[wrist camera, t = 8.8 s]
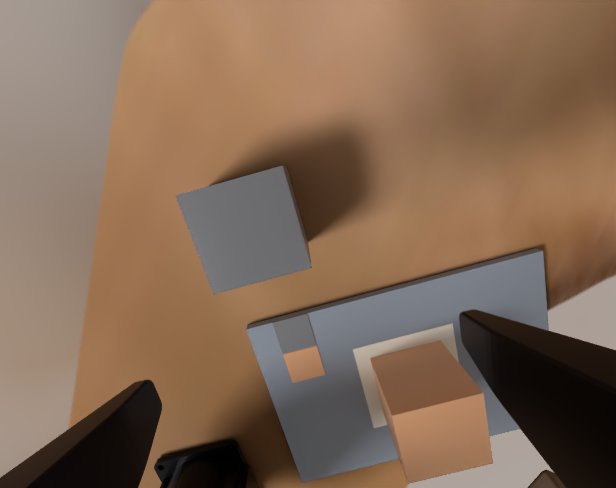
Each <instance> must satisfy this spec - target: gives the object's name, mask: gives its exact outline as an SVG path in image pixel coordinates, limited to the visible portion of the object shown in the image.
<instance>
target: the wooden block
mask: <svg viewBox="0 0 616 488" xmlns="http://www.w3.org/2000/svg"><path fill="white" fill-rule="evenodd" d="M528 488H566V487H565V486H564V485H563V483H562V482H561V481H560V479H559V478H558V477H557V475H556V474H555V473H553V472H551V471H548V470H544V471H542V472H541V473H540V474H539V476H538V477H537V478H536V479H535V480H534V481H533V482H532V483H531V484H530V486H529V487H528Z"/></svg>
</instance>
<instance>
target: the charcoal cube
mask: <svg viewBox="0 0 616 488" xmlns="http://www.w3.org/2000/svg"><path fill="white" fill-rule="evenodd" d="M176 198H177V201H178V203H179V206H180V209H181V211H182V214H183V216H184V219H185V221H186V224H187V227H188V229H189V232H190V234H191V237H192V240H193V242H194V245H195V247H196V250H197V252H198V255H199V258H200V260H201V263H202V265H203V268H204V271H205V273H206V276H207V278H208V281H209V283H210V286H211V289H212V291H213V294H217V293H221V292H224V291H228V290H232V289H235V288H239V287H243V286H246V285H250V284H254V283H257V282H261V281H265V280H269V279H272V278H276V277H280V276H283V275H287V274H291V273H294V272H298V271H302V270H305V269H309V268H312V266H311V260H310V253H309V246H308V241H307V238H306V234H305V230H304V227H303V223H302V220H301V216H300V213H299V209H298V206H297V202H296V199H295V195H294V192H293V188H292V184H291V181H290V177H289V174H288V170H287V167H286V165H282V166H279V167H275V168H272V169H268V170H265V171H261V172H258V173H254V174H250V175H247V176H243V177H240V178H236V179H233V180H229V181H226V182H222V183H219V184H215V185H212V186H208V187H205V188H201V189H197V190H194V191H190V192H187V193H183V194H180V195H176Z"/></svg>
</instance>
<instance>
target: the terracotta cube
mask: <svg viewBox="0 0 616 488" xmlns="http://www.w3.org/2000/svg"><path fill="white" fill-rule="evenodd" d="M370 361H371V365H372V369H373V373H374V377H375V381H376V385H377V389H378V393H379V397H380V401H381V405H382V409H383V413H384V417H385V420H386V422H387V425H388V428H389V431H390V434H391V437H392V439H393V442H394V445H395V448H396V451H397V454H398V457H399V459H400V462H401V465H402V468H403V471H404V474H405V477H406V479H407V482H408V484H409V483H413V482H417V481H422V480H426V479H430V478H434V477H438V476H442V475H446V474H450V473H455V472H459V471H463V470H467V469H471V468H475V467H480V466H484V465H487V464H492V463H493V460H492V452H491V445H490V437H489V430H488V423H487V415H486V408H485V401H484V393H483V392H482V391H481V389H480V388H479V387H478V386H477V385H476V383H475V382H474V381H473V380H472V378H471V377H470V376H469V375H468V374H467V372H466V371H465V370H464V369H463V367H462V366H461V365H460V364H459V362H458V361H457V360H456V359H455V358H454V356H453V355H452V354H451V353H450V351H449V350H448V349H447V348H446V347H445V345H444V344H443V343H442V342H441V340H439V341H435V342H431V343H427V344H424V345H420V346H416V347H412V348H408V349H404V350H400V351H396V352H392V353H388V354H384V355H380V356H377V357H373V358H370Z"/></svg>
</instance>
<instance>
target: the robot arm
mask: <svg viewBox="0 0 616 488" xmlns="http://www.w3.org/2000/svg"><path fill="white" fill-rule="evenodd" d="M459 323H460V333H461V340H462V343H463V345H464V347H465V349H466V350H467V352H468V354H469V355H470V357H471V358H472V360H473V362H474V363H475V365H476V366H477V368H478V370H479V371H480V373H481V374H482V376H483V378H484V379H485V381H486V383H487V384H488V386H489V387H490V389H491V390H492V392H493V393H494V395H495V396H496V398H497V399H498V400H499V402H500V403H501V404H502V406H503V407H504V408H505V409H506V411H507V412H508V413H509V415H510V416H511V417H512V419H513V420H514V421H515V422H516V424H517V425H518V426H519V428H520V429H521V430H522V431H523V433H524V434H525V435H526V437H527V438H528V439H529V441H530V442H531V443H532V444H533V445H534V447H535V448H536V450H537V451H538V452H539V453H540V455H541V456H542V457H543V459H544V460H545V461H546V462H547V464H548V465H549V466H550V468H551V469H552V470H553V471H554V473H555V474H556V475H557V477H558V478H559V479H560V481H561V482H562V483H563V485H564V486H565V487H566V488H616V350H613V349H609V348H606V347H603V346H599V345H595V344H592V343H589V342H585V341H582V340H579V339H575V338H572V337H568V336H565V335H561V334H558V333H555V332H551V331H548V330H544V329H541V328H537V327H534V326H531V325H527V324H524V323H520V322H517V321H514V320H510V319H507V318H503V317H500V316H496V315H493V314H490V313H486V312H483V311H479V310H476V309H472V310H468V311H463V312H461V313H460V314H459ZM161 410H162V403H161V400H160V398H159V395H158V393H157V391H156V388H155V386H154V384H153V382H152V381H151V380H143V381H138V382H135V383H133V384H132V385H130V386H129V387H128V388H126V389H125V390H123V391H122V392H121V393H119V394H118V395H116V396H115V397H113V398H112V399H111V400H109V401H108V402H106V403H105V404H104V405H102V406H101V407H99V408H98V409H97V410H95V411H94V412H92V413H91V414H90V415H88V416H87V417H85V418H84V419H82V420H81V421H80V422H78V423H77V424H75V425H74V426H73V427H71V428H70V429H68V430H67V431H66V432H64V433H63V434H61V435H60V436H58V437H57V438H56V439H54V440H53V441H51V442H50V443H49V444H47V445H46V446H45V447H43V448H42V449H40V450H39V451H37V452H36V453H35V454H33V455H32V456H30V457H29V458H28V459H26V460H25V461H24V462H22V463H20V464H19V465H18V466H16V467H15V468H13V469H12V470H11V471H9V472H8V473H6V474H5V475H4V476H2V477H1V478H0V488H138V486H139V484H140V481H141V478H142V476H143V473H144V470H145V467H146V464H147V460H148V457H149V454H150V450H151V447H152V443H153V439H154V436H155V432H156V429H157V425H158V422H159V418H160V414H161ZM230 447H232V448H230ZM154 469H155V471H156V473H157V475H158V477H159V478H160V480H161V482H162V484H161V486H160V488H259V487H258V485H257V482H256V480H255V477H254V475H253V473H252V470H251V468H250V466H249V465H248V464H247V463H246V461H245V459H244V456H243V454H242V452H241V449H240V447H239V445H238V443H237V442H236V441H234V440H229V441H225V442H221V443H217V444H213V445H209V446H205V447H201V448H197V449H193V450H189V451H185V452H181V453H178V454H174V455H170V456H166V457H162V458H159V459H158V460H157V461H156V464H155V466H154Z"/></svg>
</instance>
